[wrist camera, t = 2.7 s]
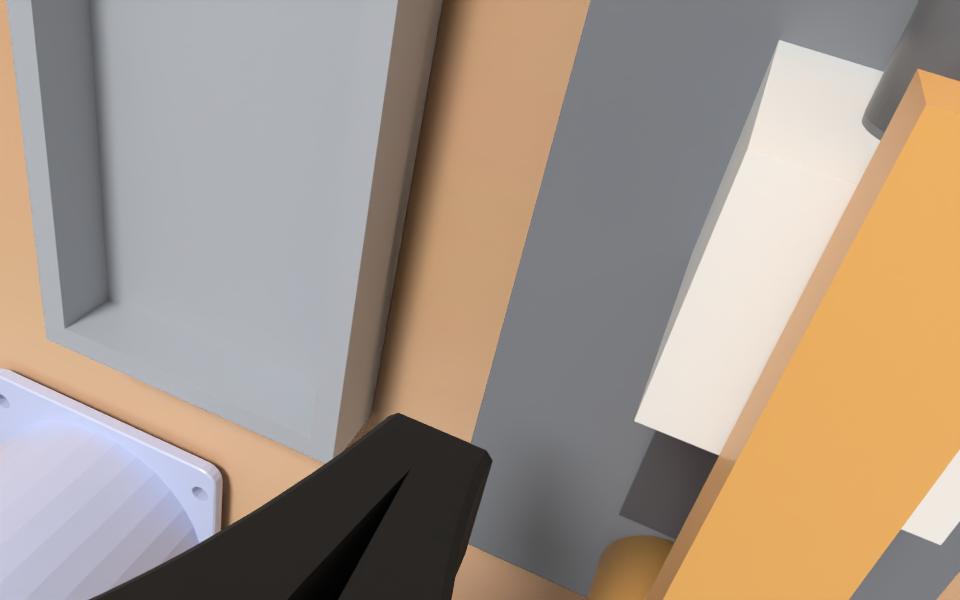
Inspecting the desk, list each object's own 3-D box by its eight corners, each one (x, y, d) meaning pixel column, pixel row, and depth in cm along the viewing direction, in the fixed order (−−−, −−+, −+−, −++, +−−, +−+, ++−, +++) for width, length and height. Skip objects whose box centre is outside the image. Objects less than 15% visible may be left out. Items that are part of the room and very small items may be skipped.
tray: (371, 415, 21) (331, 466, 19) (104, 300, 22) (46, 338, 21) (483, -239, 13) (432, -244, 11) (60, -349, 15) (-37, -366, 13)
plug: (910, 291, 14) (940, 545, 9) (703, 219, 15) (633, 420, 10) (1211, -210, 10) (1544, -218, 5) (906, -280, 11) (952, -343, 6)
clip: (692, 639, 18) (637, 931, 13) (585, 590, 18) (496, 857, 14) (1058, 19, 10) (1223, 197, 6) (862, -37, 11) (871, 86, 6)
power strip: (842, 635, 19) (841, 716, 17) (477, 476, 21) (444, 537, 19) (1338, -16, 11) (1428, 18, 9) (668, -191, 13) (640, -189, 11)
